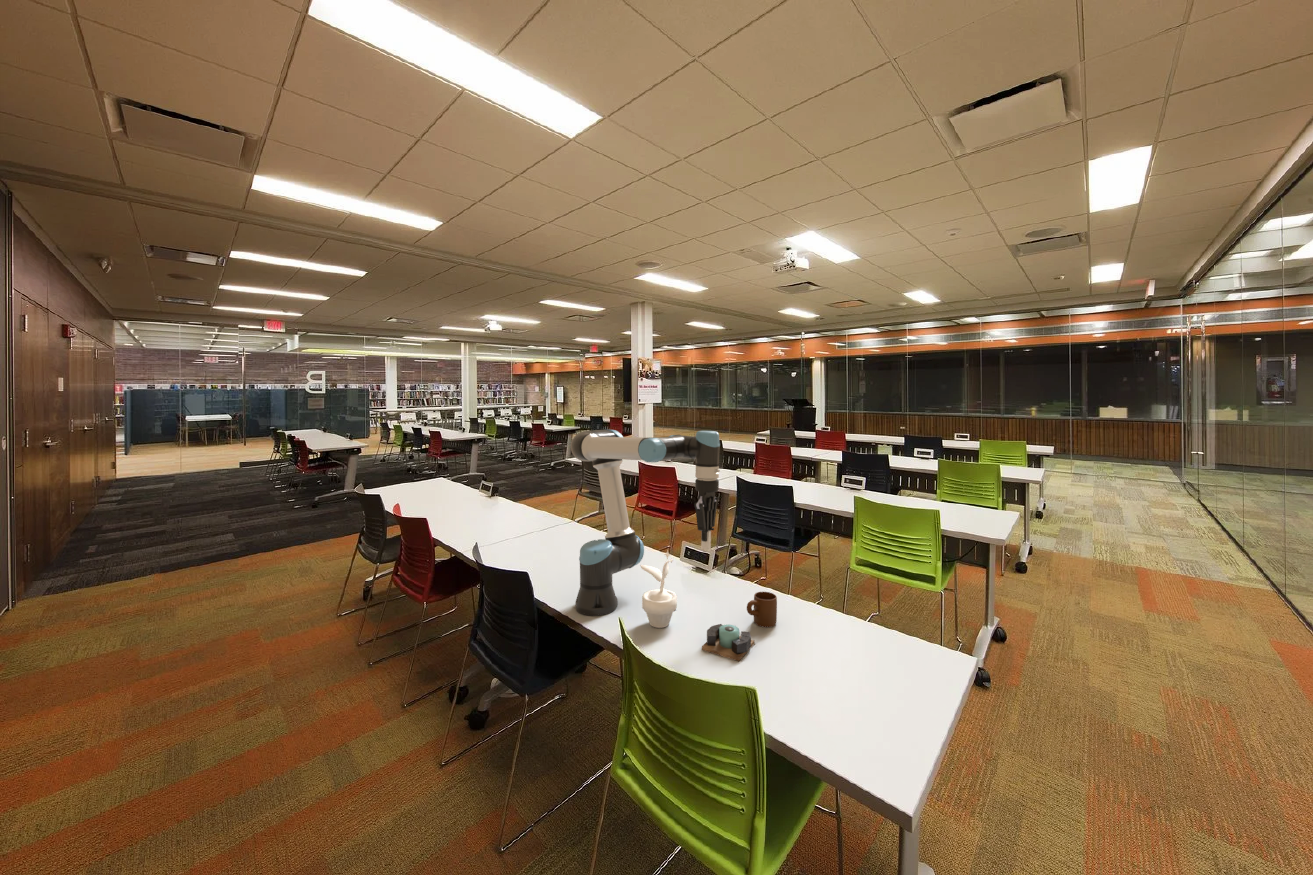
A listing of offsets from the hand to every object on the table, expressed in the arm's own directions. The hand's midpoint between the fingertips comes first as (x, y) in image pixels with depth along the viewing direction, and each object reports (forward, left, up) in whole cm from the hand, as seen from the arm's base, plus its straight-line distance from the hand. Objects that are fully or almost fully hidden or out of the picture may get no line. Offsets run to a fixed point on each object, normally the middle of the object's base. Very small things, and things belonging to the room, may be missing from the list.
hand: (705, 550), depth 154 cm
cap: (+12, -8, -25) cm, 29 cm away
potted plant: (-14, -7, -26) cm, 31 cm away
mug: (+15, +11, -26) cm, 32 cm away
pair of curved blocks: (+12, -8, -26) cm, 29 cm away
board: (+12, -8, -26) cm, 29 cm away
